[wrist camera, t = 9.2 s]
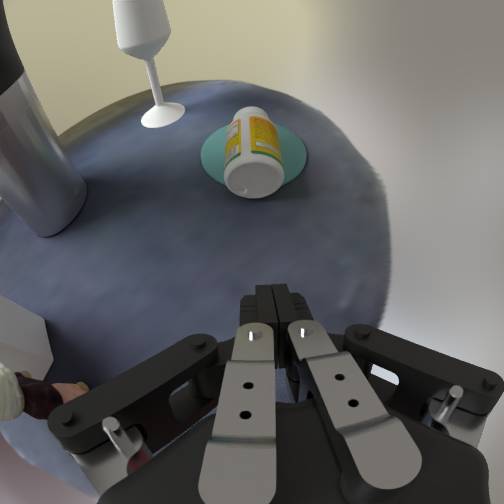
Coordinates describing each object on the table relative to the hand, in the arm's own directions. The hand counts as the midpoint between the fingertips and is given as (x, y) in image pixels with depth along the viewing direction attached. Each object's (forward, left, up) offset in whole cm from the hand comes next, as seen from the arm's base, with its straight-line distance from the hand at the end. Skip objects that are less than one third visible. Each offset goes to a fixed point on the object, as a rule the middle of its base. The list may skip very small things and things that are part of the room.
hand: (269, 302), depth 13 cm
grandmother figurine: (-10, -12, -8) cm, 18 cm away
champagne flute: (-24, +22, -8) cm, 34 cm away
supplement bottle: (-5, +11, -5) cm, 13 cm away
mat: (-8, +18, -8) cm, 22 cm away
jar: (-20, -13, -8) cm, 25 cm away
